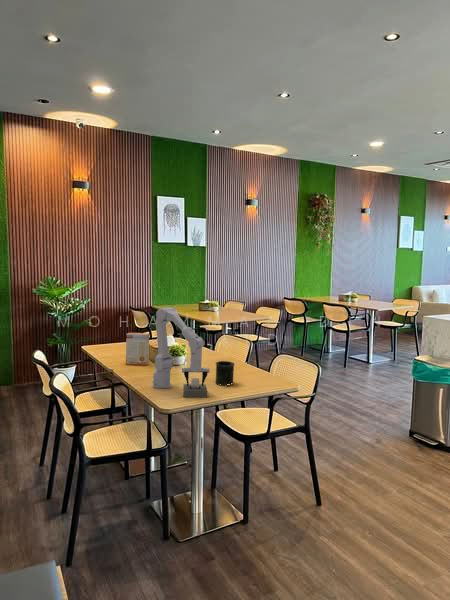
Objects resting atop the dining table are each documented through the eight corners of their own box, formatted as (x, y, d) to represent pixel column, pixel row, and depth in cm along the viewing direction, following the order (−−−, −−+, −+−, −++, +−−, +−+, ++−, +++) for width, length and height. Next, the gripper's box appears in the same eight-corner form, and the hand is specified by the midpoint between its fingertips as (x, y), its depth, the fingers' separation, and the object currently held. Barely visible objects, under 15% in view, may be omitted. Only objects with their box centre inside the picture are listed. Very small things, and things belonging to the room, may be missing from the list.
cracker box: (148, 364, 300) (149, 333, 298) (146, 366, 294) (147, 334, 292) (128, 362, 301) (128, 332, 299) (125, 364, 295) (126, 333, 293)
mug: (220, 387, 252) (221, 366, 251) (208, 380, 265) (209, 360, 264) (237, 385, 258) (238, 364, 257) (224, 378, 270) (225, 359, 269)
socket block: (183, 397, 231) (183, 390, 231) (183, 390, 243) (183, 384, 243) (206, 397, 232) (207, 390, 232) (205, 390, 244) (205, 384, 244)
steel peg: (191, 395, 236) (191, 380, 235) (190, 392, 240) (191, 378, 239) (198, 395, 236) (199, 380, 236) (198, 392, 240) (198, 378, 239)
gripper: (182, 362, 231) (181, 387, 233) (210, 362, 233) (209, 388, 234) (182, 359, 238) (181, 384, 240) (209, 359, 240) (208, 384, 241)
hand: (195, 385), depth 237 cm, fingers open, 7 cm apart
